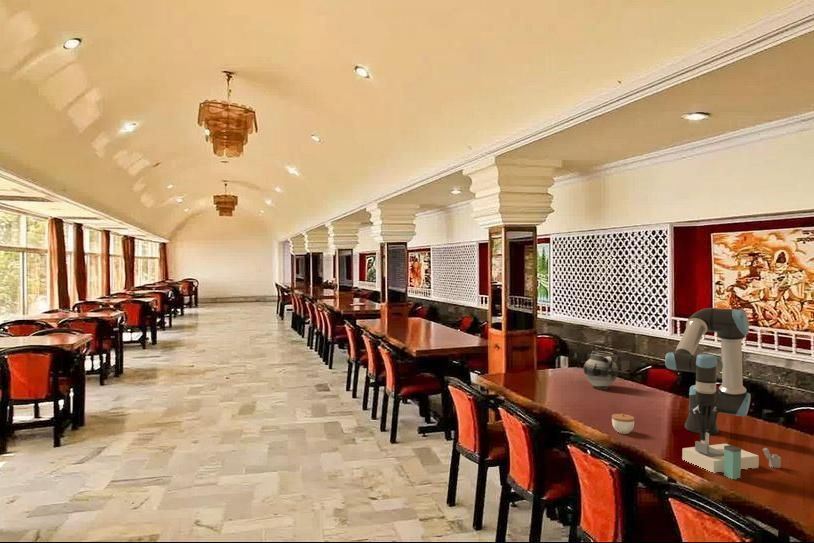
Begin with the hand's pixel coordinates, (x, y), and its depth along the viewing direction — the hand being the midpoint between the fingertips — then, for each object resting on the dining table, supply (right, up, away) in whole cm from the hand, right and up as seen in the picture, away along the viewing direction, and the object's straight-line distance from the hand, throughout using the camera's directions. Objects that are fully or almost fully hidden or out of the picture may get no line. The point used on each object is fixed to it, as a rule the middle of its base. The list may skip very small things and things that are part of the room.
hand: (704, 447), depth 226 cm
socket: (+8, -8, +3) cm, 11 cm away
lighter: (+28, -8, 0) cm, 29 cm away
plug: (+4, -8, -12) cm, 15 cm away
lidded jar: (-16, -7, +45) cm, 49 cm away
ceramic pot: (+9, -7, +146) cm, 146 cm away
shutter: (+2, -2, +1) cm, 4 cm away
